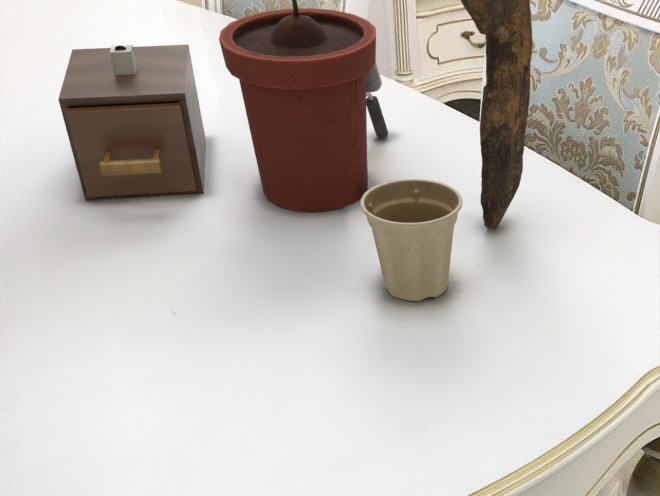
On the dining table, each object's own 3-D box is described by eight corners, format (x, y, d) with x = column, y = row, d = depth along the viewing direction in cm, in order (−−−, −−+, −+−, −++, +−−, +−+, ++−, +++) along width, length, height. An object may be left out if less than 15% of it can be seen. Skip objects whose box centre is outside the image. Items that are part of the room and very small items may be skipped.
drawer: (195, 208, 117) (179, 122, 111) (84, 215, 116) (61, 128, 110) (198, 140, 129) (184, 60, 123) (98, 146, 128) (77, 65, 122)
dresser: (203, 193, 122) (184, 92, 114) (85, 201, 120) (58, 99, 112) (205, 140, 132) (188, 44, 124) (96, 146, 130) (72, 49, 122)
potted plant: (216, 173, 126) (170, -84, 108) (384, 133, 134) (368, -111, 116) (281, 235, 115) (243, -37, 97) (460, 188, 124) (455, -70, 106)
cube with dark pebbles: (114, 75, 117) (108, 49, 115) (116, 68, 119) (111, 42, 117) (135, 74, 117) (130, 48, 116) (137, 67, 119) (131, 42, 117)
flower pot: (367, 312, 105) (359, 224, 99) (367, 264, 111) (360, 179, 105) (466, 309, 105) (464, 222, 99) (461, 262, 112) (459, 177, 106)
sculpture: (441, 234, 116) (430, -103, 94) (479, 208, 120) (476, -120, 99) (498, 251, 114) (500, -90, 92) (534, 223, 118) (544, -109, 96)
